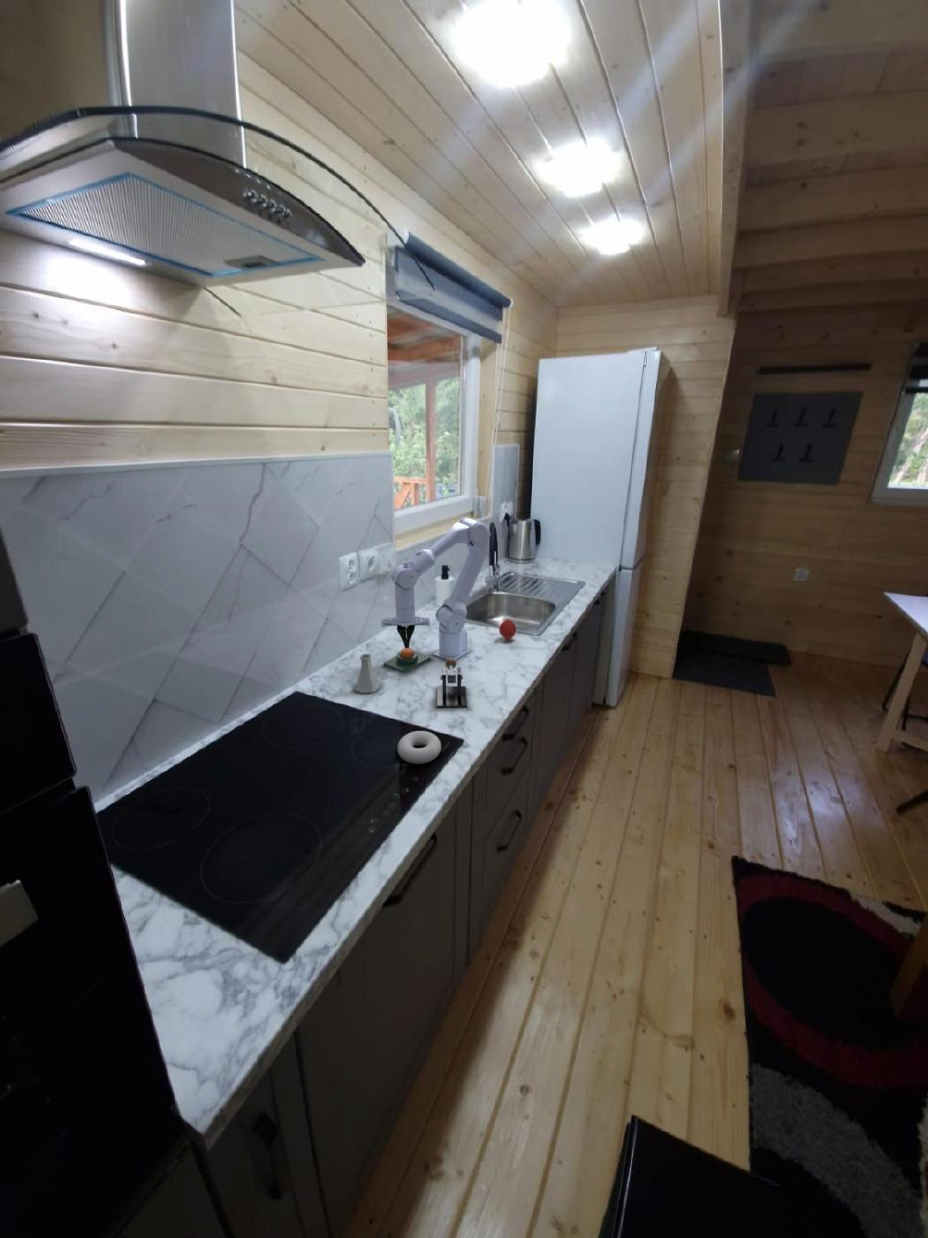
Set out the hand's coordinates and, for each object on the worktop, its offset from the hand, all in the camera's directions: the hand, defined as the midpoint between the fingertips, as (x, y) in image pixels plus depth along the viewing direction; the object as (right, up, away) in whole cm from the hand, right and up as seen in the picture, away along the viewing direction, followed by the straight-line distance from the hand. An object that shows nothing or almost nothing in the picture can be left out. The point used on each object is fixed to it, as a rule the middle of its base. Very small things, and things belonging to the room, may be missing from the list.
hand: (407, 646), depth 153 cm
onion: (+33, +1, +19) cm, 38 cm away
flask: (-10, -11, -12) cm, 19 cm away
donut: (+7, -22, -39) cm, 46 cm away
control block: (0, -5, +2) cm, 6 cm away
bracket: (+14, -13, -18) cm, 26 cm away
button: (0, -3, +1) cm, 3 cm away
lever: (+14, -7, -16) cm, 22 cm away
